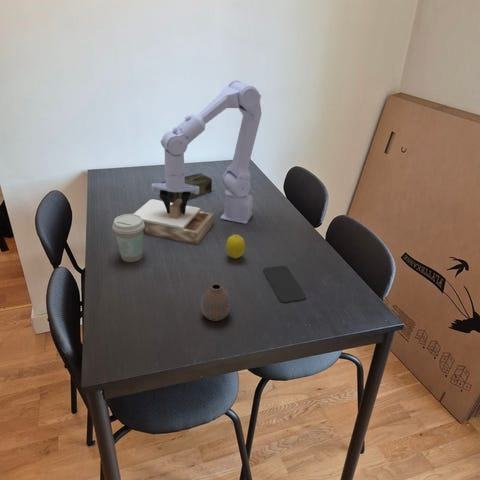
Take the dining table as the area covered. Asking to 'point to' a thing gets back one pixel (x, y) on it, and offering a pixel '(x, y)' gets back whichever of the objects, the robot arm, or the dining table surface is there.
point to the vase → (215, 303)
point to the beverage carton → (194, 180)
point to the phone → (284, 284)
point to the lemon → (235, 246)
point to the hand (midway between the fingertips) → (176, 212)
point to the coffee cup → (129, 236)
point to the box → (189, 233)
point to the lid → (158, 214)
